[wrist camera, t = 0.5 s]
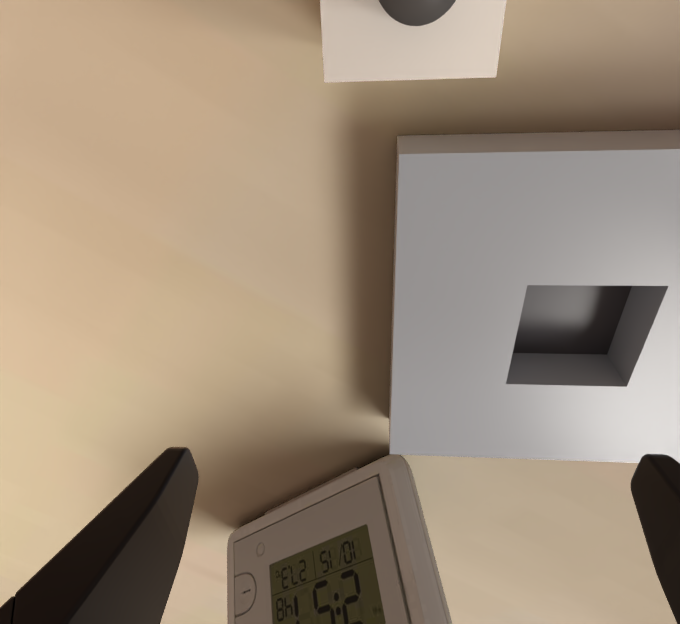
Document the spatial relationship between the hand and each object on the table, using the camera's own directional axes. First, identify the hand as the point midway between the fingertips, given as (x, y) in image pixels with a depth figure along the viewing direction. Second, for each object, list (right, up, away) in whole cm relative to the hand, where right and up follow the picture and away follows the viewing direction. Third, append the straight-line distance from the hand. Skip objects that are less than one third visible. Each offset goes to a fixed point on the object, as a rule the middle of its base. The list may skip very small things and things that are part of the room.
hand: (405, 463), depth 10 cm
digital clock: (-2, -10, +24) cm, 26 cm away
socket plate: (+9, +3, +13) cm, 16 cm away
